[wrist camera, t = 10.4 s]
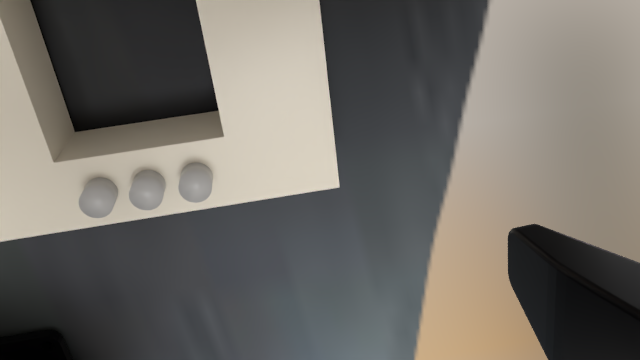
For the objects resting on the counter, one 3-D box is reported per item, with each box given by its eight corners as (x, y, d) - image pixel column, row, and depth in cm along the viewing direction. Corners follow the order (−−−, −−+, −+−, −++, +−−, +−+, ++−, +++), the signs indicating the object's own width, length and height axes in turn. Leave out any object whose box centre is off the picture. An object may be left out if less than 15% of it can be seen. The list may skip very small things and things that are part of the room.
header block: (-1, 207, 20) (-41, 260, 17) (-135, -102, 16) (-221, -100, 13) (329, 156, 21) (343, 198, 18) (293, -154, 16) (304, -164, 13)
